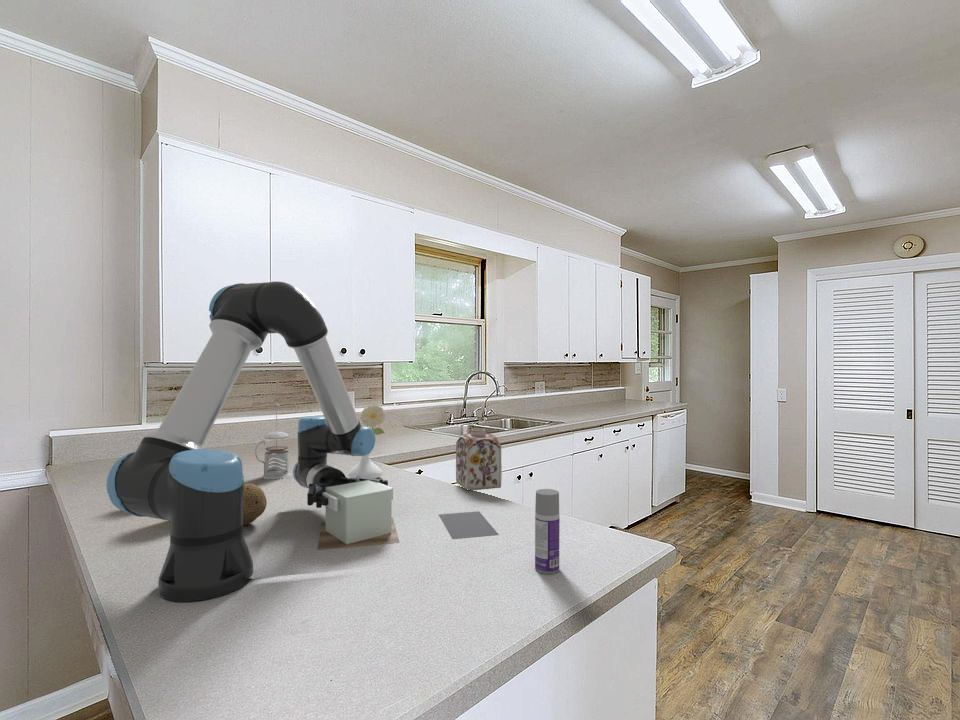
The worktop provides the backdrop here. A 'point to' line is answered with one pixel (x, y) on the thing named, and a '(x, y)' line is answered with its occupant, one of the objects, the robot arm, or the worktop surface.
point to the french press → (275, 456)
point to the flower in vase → (365, 466)
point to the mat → (467, 525)
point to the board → (332, 542)
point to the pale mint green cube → (359, 511)
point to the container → (547, 531)
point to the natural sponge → (252, 503)
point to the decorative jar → (478, 461)
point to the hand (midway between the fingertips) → (365, 499)
